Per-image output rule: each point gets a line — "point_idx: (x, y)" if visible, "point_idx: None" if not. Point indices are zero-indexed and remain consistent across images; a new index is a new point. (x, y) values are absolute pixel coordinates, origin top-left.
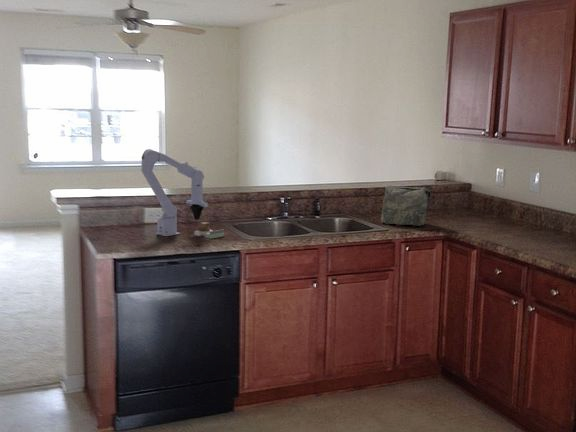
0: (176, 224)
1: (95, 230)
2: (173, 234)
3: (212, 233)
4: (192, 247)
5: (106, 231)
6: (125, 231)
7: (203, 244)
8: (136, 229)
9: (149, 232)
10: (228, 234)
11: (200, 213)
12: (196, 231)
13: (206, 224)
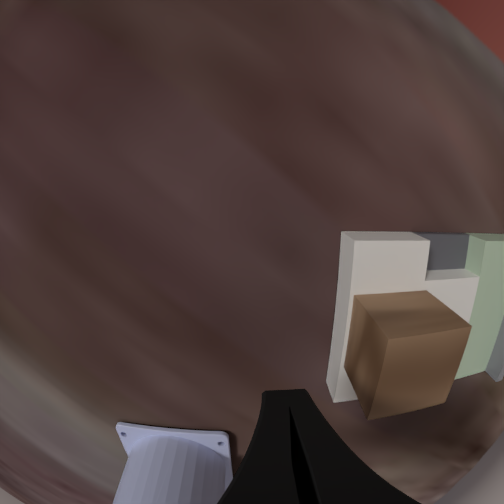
0: (205, 500)
1: (14, 490)
2: (231, 470)
3: (499, 355)
4: (468, 470)
5: (32, 494)
6: (41, 481)
7: (488, 430)
8: (8, 441)
9: (85, 468)
10: (489, 150)
11: (351, 457)
12: (355, 397)
13: (451, 366)
